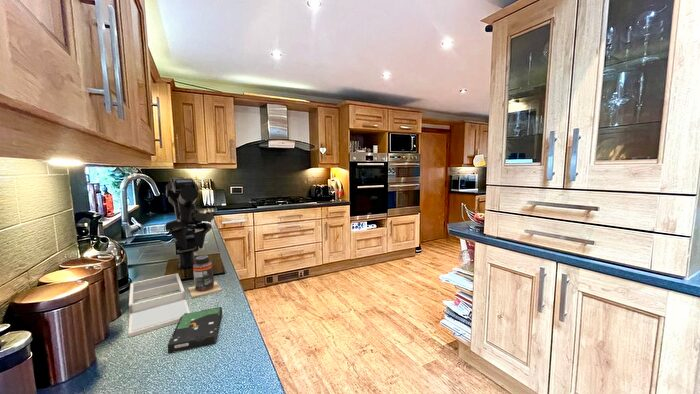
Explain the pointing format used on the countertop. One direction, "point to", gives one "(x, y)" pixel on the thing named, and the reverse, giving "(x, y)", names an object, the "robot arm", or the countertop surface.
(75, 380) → the countertop surface
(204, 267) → the supplement bottle
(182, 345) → the disk drive
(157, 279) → the equipment case
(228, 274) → the countertop surface
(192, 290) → the cork mat
